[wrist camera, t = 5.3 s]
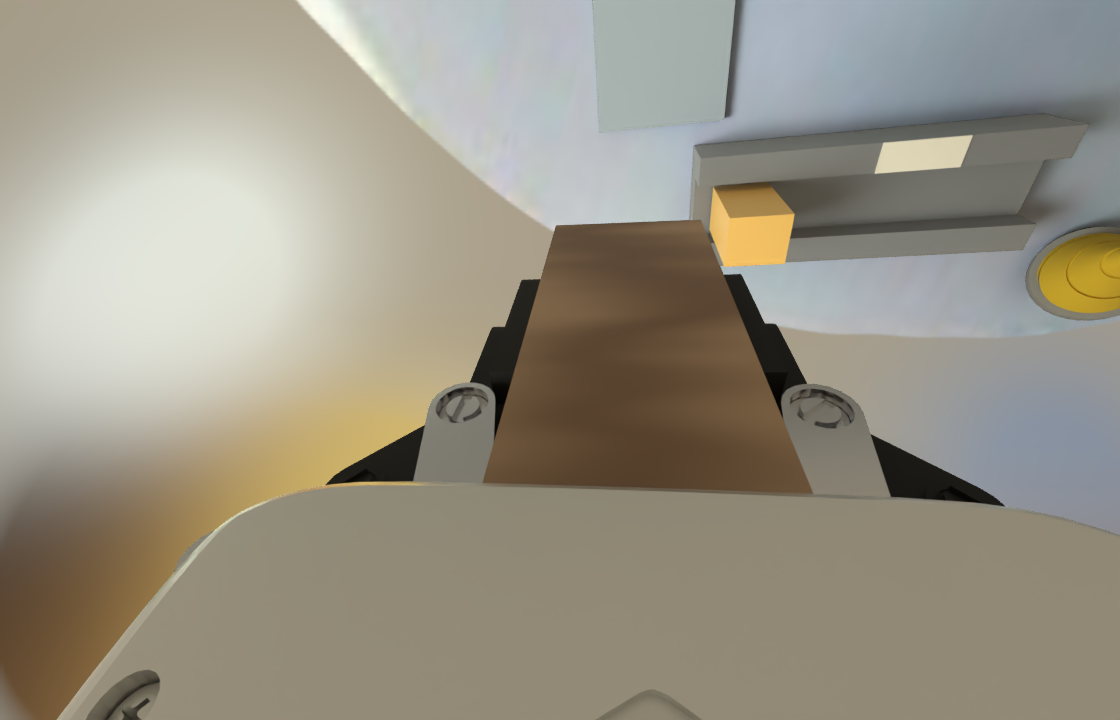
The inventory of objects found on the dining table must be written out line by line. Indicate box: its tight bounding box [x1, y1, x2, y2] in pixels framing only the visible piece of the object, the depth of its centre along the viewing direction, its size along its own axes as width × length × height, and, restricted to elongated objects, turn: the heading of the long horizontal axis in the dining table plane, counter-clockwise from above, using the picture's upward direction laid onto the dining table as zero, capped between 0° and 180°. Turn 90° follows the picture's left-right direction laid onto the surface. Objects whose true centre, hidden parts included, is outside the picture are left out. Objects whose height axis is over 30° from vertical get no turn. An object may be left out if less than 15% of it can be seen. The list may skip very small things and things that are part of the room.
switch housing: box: [689, 114, 1089, 266], centre depth 26 cm, size 18×6×3 cm, turn 96°
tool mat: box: [592, 0, 735, 133], centre depth 24 cm, size 7×7×1 cm
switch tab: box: [709, 182, 795, 267], centre depth 25 cm, size 3×3×5 cm
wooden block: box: [482, 220, 813, 494], centre depth 10 cm, size 4×4×10 cm
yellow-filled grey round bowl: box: [1025, 227, 1120, 320], centre depth 25 cm, size 5×5×10 cm
